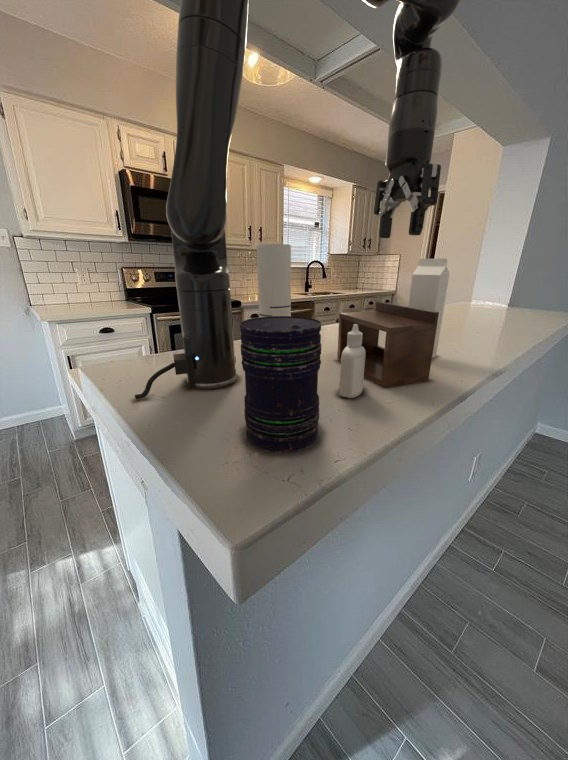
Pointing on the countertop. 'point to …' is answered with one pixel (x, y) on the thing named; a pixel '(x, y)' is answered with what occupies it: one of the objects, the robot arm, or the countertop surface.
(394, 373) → the spice rack
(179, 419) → the countertop surface
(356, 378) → the eye dropper bottle
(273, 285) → the cylindrical container
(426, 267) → the milk
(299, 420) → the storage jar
